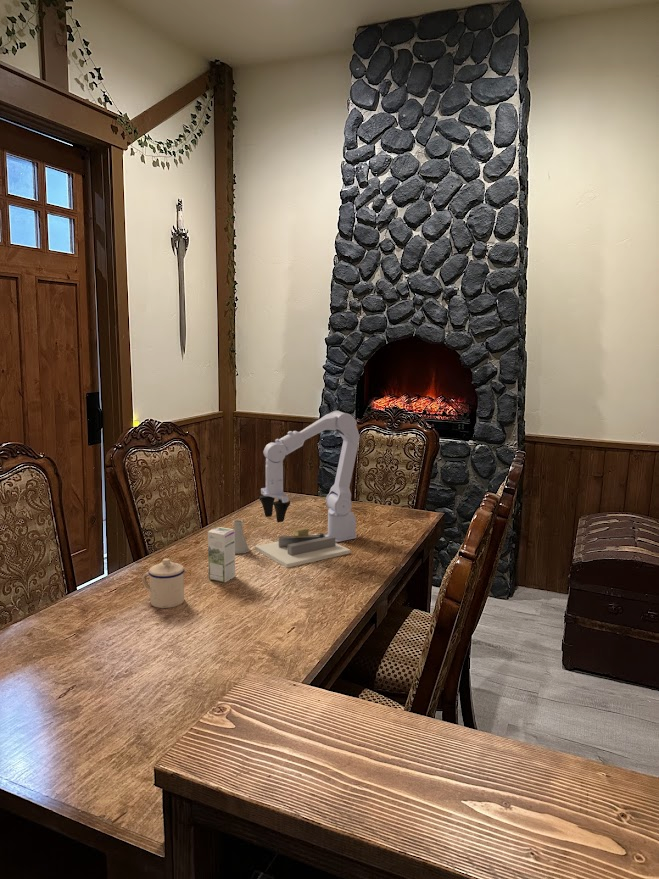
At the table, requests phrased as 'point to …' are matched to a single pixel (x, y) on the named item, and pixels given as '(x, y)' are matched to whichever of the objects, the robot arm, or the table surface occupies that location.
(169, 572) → the teacup with lid
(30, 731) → the table surface
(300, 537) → the block
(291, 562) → the hearth board
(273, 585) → the table surface
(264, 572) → the table surface
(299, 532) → the block
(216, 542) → the syrup box
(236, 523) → the flask
